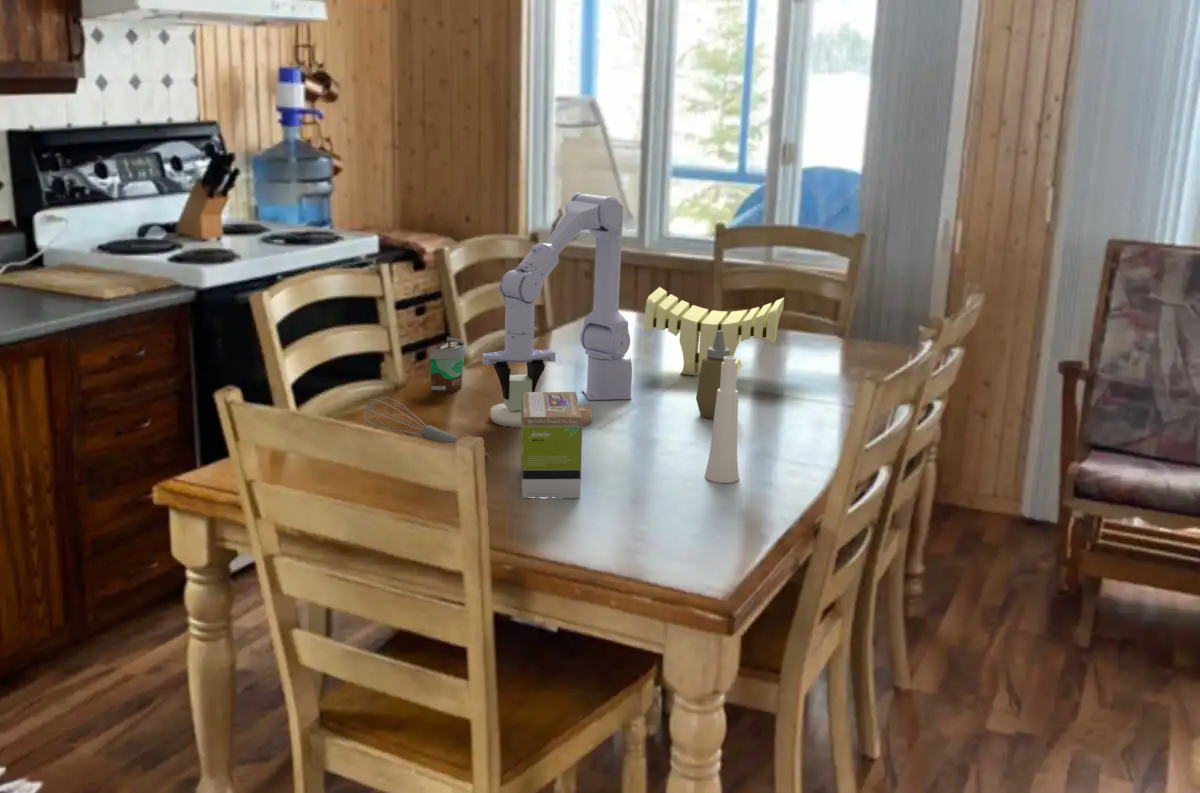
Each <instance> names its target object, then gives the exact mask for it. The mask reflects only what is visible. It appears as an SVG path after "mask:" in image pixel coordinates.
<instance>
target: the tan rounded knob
mask: <svg viewBox="0 0 1200 793" xmlns="http://www.w3.org/2000/svg"><path fill="white" fill-rule="evenodd" d="M579 408H580V413H581V416H582V427H586V426H587V425H588V426H590V425H591V424H592V423H593V422H592V421H593V420H592V417H593V408H592V407H590V406H589V405H582V404H581V405H580V404H579Z"/></svg>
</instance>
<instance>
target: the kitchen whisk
mask: <svg viewBox="0 0 1200 793" xmlns="http://www.w3.org/2000/svg"><path fill="white" fill-rule="evenodd" d="M380 398H382V396H379V397H378V396H377V397H376V398H375V399H374V398H372V399H370V398H369V400H368V402H367V403H368V406H363V409H366V410H364V412H363V416H362V417H363V418H364V419H365V420H366V421H367V422H368V423H369V424H370V425H371V426H372V427H373V428H375V426H377V427H380V428H383V429H388V430H392V431H397V432H402V433H405V432H406V434H410V433H411V434H410V435H411V436H410V437H422V439H424V440H426V439H428V440H427V441H429V440H432V441H436V442H441V443H455V442H456V441H457V440H458V439H459V438H460V437H459V436H456V435H454V434H451V433H449V432H446V431H443V430H441V429H439V428H438V427H435V426H432V425H429V424H428V425H426V424H425V423H424V422H423V421H422V420H421V419H420V418H419V417H418V416H416V415H415V413H413V412H412V411H411V410H410V409H409V408H407V407H406V406H404V405H403V404H402V403H400V402H398V401H397V400H395V399H393V398H390V397H387V396H383V398H384V399H389V400H392V401H394V402H395V403H397V404H399V405H397V404H395V403H391V402H388V403H387V402H384V401H382V400H379V399H380ZM370 401H371V403H370ZM374 401H378V402H377V403H374V404H373V402H374ZM380 404H385V405H387V406H389V407H391V408H393V409H395V410H396V411H398V412H400V413H401V414H403V415H404V416H406V417H408V419H411V421H413V422H415V423H416V424H418V425H419V426H417V425H416V424H413V423H411V422H409V421H407V420H405V419H402V418H399V417H398V416H395V415H393V414H390V413H388V412H385V411H382V410H379V409H376V408H372V407H374V406H375V405H380ZM392 405H394V406H397V407H399V408H400V409H402V410H404V411H406V412H408V413H409V414H411V415H412V416H413V417H415V418H416V419H417V420H418V421H419V422H420V423H421V424H420V423H419V422H417V421H415V419H414V418H411V417H410V416H409V415H407V414H405V413H404V412H402V411H401V410H399V409H398V408H396V407H394V406H392ZM400 405H401V406H400ZM374 410H375V411H374ZM366 411H367V414H370V413H371V415H372V416H373V417H374V418H375V420H376V421H378V422H379V424H382V425H383V426H382V425H378V424H376V423H373V422H371V420H370V418H369V416H367V417H366V416H365V412H366ZM376 411H378V412H376ZM369 412H370V413H369ZM379 412H381V413H383V414H381V413H379ZM374 414H378V415H380V416H382V417H385V418H388V419H391V420H392V421H395V422H397V423H400V424H403V425H406V426H408V427H411V428H413V429H416V430H419V431H421V433H420V432H412V431H406V430H399V429H393V428H390V427H387V426H385V424H384V423H383V422H382V421H380V420H379V419H378V418H376V416H375V415H374ZM384 414H386V415H389V416H392V417H393V418H391V417H388V416H386V415H384ZM367 418H368V419H367ZM394 418H396V419H394ZM397 419H398V420H397ZM365 420H364V421H365ZM399 420H401V421H399ZM402 421H403V422H402ZM404 422H405V423H404ZM407 423H408V424H407ZM422 424H423V425H424V426H423V425H422ZM374 425H375V426H374ZM411 425H412V426H411ZM420 426H421V427H420ZM485 454H486V456H488V458H489V461H490V462H491V460H492V459H491V456H490V455H489V454H488V453H487V450H486V449H485Z"/></svg>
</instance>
